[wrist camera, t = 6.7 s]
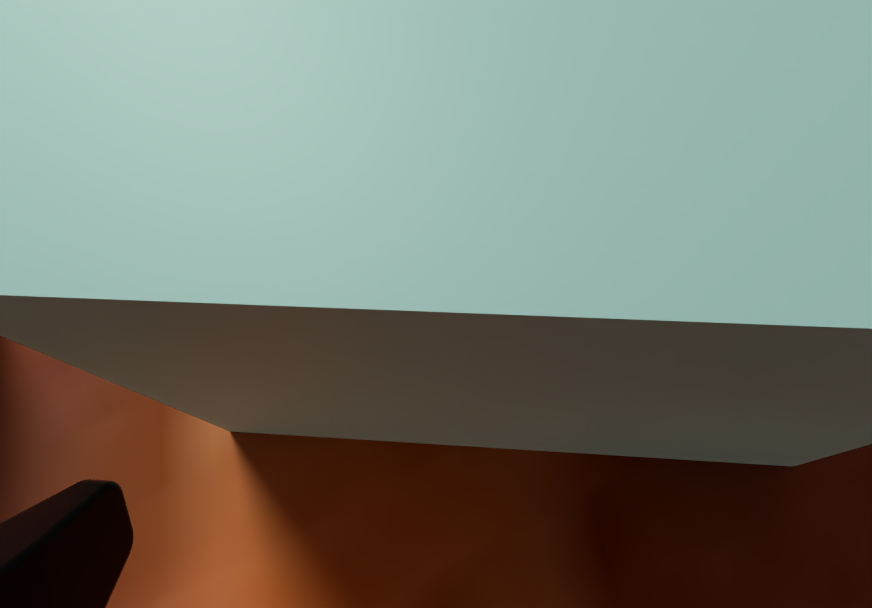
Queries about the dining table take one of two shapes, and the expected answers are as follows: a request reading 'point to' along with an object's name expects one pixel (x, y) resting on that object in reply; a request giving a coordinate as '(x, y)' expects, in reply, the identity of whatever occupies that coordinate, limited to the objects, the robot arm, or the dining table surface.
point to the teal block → (452, 217)
